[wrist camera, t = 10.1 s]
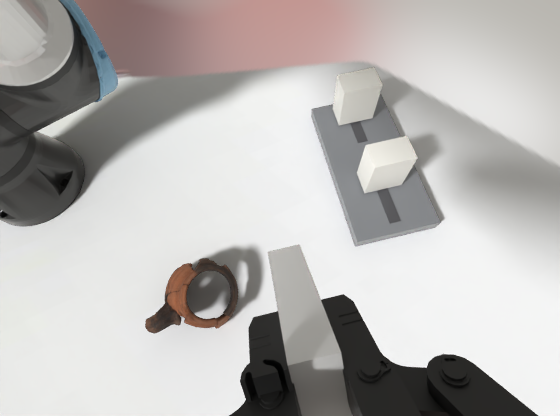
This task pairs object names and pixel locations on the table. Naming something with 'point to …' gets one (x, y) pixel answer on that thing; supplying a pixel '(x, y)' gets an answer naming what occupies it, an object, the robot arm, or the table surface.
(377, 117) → the switch plate
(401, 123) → the table surface
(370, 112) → the switch
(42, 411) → the table surface
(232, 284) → the brown hollow rounded piece
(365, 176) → the switch
